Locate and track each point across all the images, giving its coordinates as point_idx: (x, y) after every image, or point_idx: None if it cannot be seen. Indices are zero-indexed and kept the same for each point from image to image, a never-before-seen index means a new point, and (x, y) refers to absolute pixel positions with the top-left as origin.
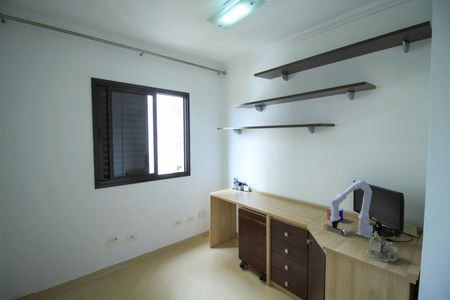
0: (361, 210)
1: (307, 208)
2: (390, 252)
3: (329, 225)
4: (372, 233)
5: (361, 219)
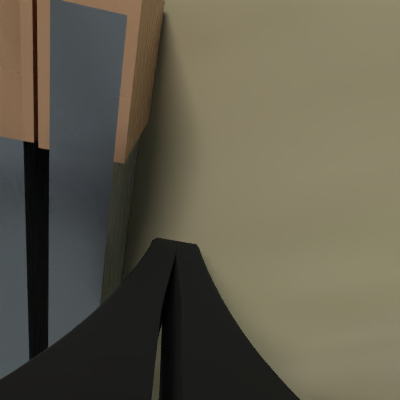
0: None
1: None
2: None
3: (93, 178)
4: None
5: None
